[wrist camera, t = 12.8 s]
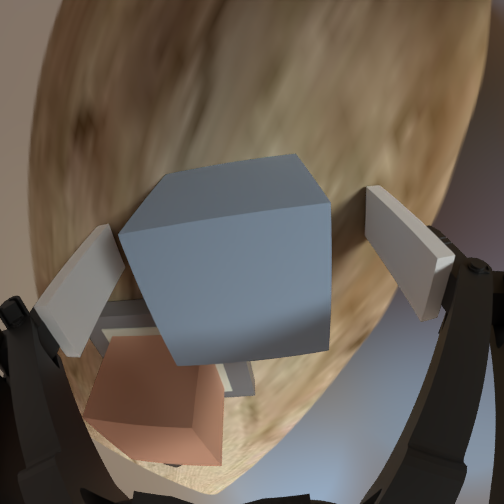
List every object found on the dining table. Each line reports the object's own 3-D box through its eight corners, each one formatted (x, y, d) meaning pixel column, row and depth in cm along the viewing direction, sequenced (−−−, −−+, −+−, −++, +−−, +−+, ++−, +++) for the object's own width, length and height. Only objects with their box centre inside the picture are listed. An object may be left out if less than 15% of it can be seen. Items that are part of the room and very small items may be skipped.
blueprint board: (233, 289, 16) (232, 307, 15) (254, 380, 21) (255, 396, 20) (85, 303, 17) (76, 318, 16) (135, 383, 22) (131, 397, 20)
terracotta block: (203, 332, 16) (191, 427, 11) (224, 388, 19) (221, 465, 14) (112, 336, 16) (82, 417, 11) (147, 389, 20) (132, 459, 14)
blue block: (295, 153, 13) (330, 202, 8) (304, 264, 16) (328, 350, 11) (165, 174, 13) (117, 234, 8) (195, 278, 16) (177, 366, 11)
